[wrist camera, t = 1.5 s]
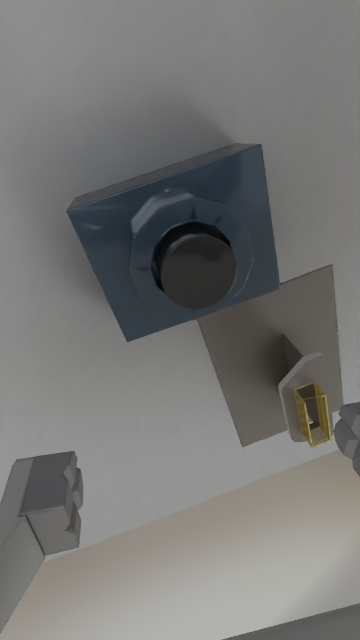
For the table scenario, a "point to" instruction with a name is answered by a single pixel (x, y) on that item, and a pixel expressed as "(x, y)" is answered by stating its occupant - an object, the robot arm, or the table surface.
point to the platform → (280, 360)
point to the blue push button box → (169, 216)
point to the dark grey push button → (196, 268)
